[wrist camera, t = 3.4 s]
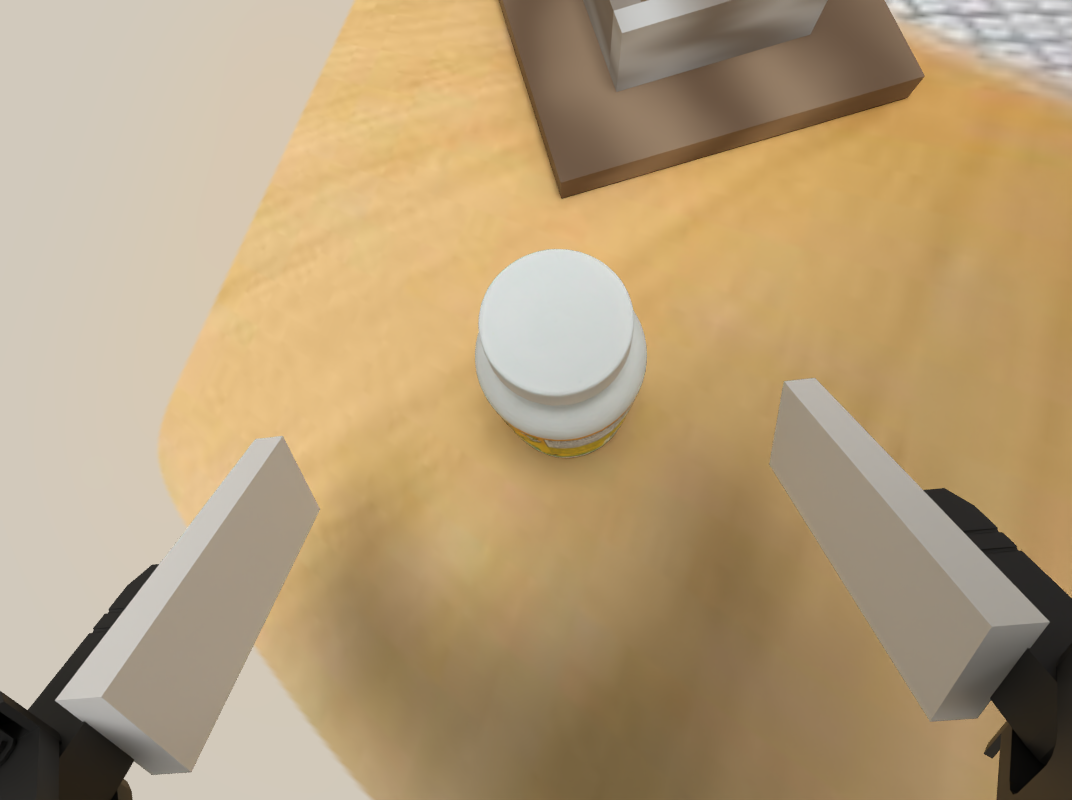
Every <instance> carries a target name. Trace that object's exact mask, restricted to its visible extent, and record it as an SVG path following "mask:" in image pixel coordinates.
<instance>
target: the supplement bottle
mask: <svg viewBox="0 0 1072 800" xmlns="http://www.w3.org/2000/svg"><path fill="white" fill-rule="evenodd" d="M646 363H647V347H646V341H645V336H644V332H643V329H642V326H641V324H640V321H639V319H638V317H637V316H636V314H635V312H634V311H633V306H632V303H631V300H630V297H629V294H628V292H627V290H626V288H625V286H624V284H623V283H622V281H621V280H620V278H619V277H618V276H617V275H616V274H615V273H614V272H613V271H612V270H611V269H610V268H609V267H608V266H607V265H605V264H604V263H602V262H601V261H599V260H597V259H596V258H594V257H592V256H590V255H587V254H584V253H581V252H578V251H573V250H567V249H548V250H543V251H538V252H535V253H532V254H529V255H526V256H524V257H522V258H520V259H518V260H516V261H515V262H513V263H512V264H510V265H509V266H508V267H506V268H505V269H504V270H503V271H502V272H501V273H500V274H499V275H498V276H497V277H496V278H495V279H494V280H493V282H492V283H491V285H490V286H489V288H488V290H487V292H486V294H485V296H484V299H483V301H482V303H481V308H480V313H479V333H478V337H477V341H476V349H475V364H476V372H477V376H478V380H479V383H480V386H481V388H482V390H483V392H484V394H485V396H486V398H487V400H488V401H489V403H490V404H491V406H492V407H493V408H494V409H495V411H496V412H497V413H498V414H499V415H500V416H501V417H502V419H503V420H504V421H505V422H506V423H507V424H508V425H509V426H510V427H511V428H512V429H513V430H514V432H515V433H516V434H517V435H518V436H519V437H520V438H521V439H522V440H523V441H525V442H526V443H527V444H529V445H530V446H532V447H533V448H535V449H536V450H538V451H540V452H542V453H544V454H547V455H550V456H554V457H560V458H571V457H578V456H582V455H586V454H588V453H591V452H593V451H595V450H597V449H598V448H600V447H602V446H603V445H604V444H605V443H607V442H608V441H609V440H610V439H611V438H612V437H613V436H614V435H615V433H616V432H617V430H618V429H619V428H620V426H621V424H622V422H623V421H624V419H625V417H626V415H627V413H628V411H629V409H630V407H631V405H632V404H633V402H634V400H635V398H636V396H637V394H638V392H639V389H640V387H641V385H642V382H643V378H644V375H645V371H646Z"/></svg>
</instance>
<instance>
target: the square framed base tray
mask: <svg viewBox="0 0 1072 800" xmlns="http://www.w3.org/2000/svg"><path fill="white" fill-rule="evenodd" d="M499 2H500V5H501V9H502V12H503V15H504V18H505V21H506V24H507V28H508V31H509V34H510V37H511V40H512V43H513V47H514V50H515V53H516V56H517V59H518V62H519V66H520V69H521V72H522V75H523V78H524V81H525V84H526V88H527V91H528V94H529V97H530V100H531V103H532V107H533V110H534V113H535V116H536V119H537V122H538V126H539V129H540V132H541V135H542V138H543V141H544V145H545V148H546V151H547V154H548V157H549V160H550V164H551V167H552V170H553V173H554V176H555V179H556V182H557V186H558V189H559V192H560V195H561V198H565V197H568V196H571V195H575V194H578V193H582V192H585V191H589V190H592V189H595V188H599V187H602V186H606V185H609V184H613V183H616V182H619V181H623V180H626V179H630V178H633V177H637V176H640V175H643V174H647V173H650V172H654V171H657V170H661V169H664V168H667V167H671V166H674V165H678V164H681V163H685V162H688V161H691V160H695V159H698V158H702V157H705V156H709V155H712V154H715V153H719V152H722V151H726V150H729V149H733V148H736V147H739V146H743V145H746V144H750V143H753V142H757V141H760V140H763V139H767V138H770V137H774V136H777V135H781V134H784V133H787V132H791V131H794V130H798V129H801V128H805V127H808V126H811V125H815V124H818V123H822V122H825V121H828V120H832V119H835V118H839V117H842V116H846V115H849V114H852V113H856V112H859V111H863V110H866V109H870V108H873V107H876V106H880V105H883V104H887V103H890V102H894V101H897V100H900V99H904V98H907V97H908V96H909V95H910V94H911V92H912V91H913V90H914V89H915V88H916V86H917V85H918V84H919V83H920V81H921V80H922V79H923V78H924V77H925V76H924V74H923V72H922V70H921V68H920V66H919V64H918V62H917V61H916V59H915V57H914V55H913V53H912V51H911V49H910V47H909V46H908V44H907V42H906V40H905V38H904V36H903V34H902V32H901V31H900V29H899V27H898V25H897V23H896V21H895V19H894V17H893V16H892V14H891V12H890V10H889V8H888V6H887V4H886V2H885V1H884V0H499Z"/></svg>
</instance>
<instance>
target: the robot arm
mask: <svg viewBox="0 0 1072 800" xmlns="http://www.w3.org/2000/svg"><path fill="white" fill-rule="evenodd" d="M769 465H770V467H771V468H772V470H773V471H774V473H775V475H776V476H777V478H778V479H779V481H780V483H781V484H782V486H783V487H784V489H785V491H786V492H787V494H788V495H789V497H790V499H791V500H792V502H793V503H794V505H795V507H796V508H797V510H798V511H799V513H800V515H801V516H802V518H803V519H804V521H805V523H806V524H807V526H808V527H809V529H810V531H811V532H812V534H813V535H814V537H815V539H816V540H817V542H818V543H819V545H820V547H821V548H822V550H823V551H824V553H825V555H826V556H827V558H828V559H829V561H830V563H831V564H832V566H833V567H834V569H835V571H836V572H837V574H838V575H839V577H840V579H841V580H842V582H843V583H844V585H845V587H846V588H847V590H848V591H849V593H850V595H851V596H852V598H853V599H854V601H855V603H856V604H857V606H858V607H859V609H860V611H861V612H862V614H863V615H864V617H865V619H866V620H867V622H868V623H869V625H870V626H871V628H872V630H873V631H874V633H875V634H876V636H877V638H878V639H879V641H880V642H881V644H882V646H883V647H884V649H885V650H886V652H887V654H888V655H889V657H890V658H891V660H892V662H893V663H894V665H895V666H896V668H897V670H898V671H899V673H900V674H901V676H902V678H903V679H904V681H905V682H906V684H907V686H908V687H909V689H910V690H911V692H912V694H913V695H914V697H915V698H916V700H917V702H918V703H919V705H920V706H921V708H922V710H923V711H924V713H925V714H926V716H927V718H928V719H929V721H930V722H931V721H945V720H960V719H974V718H978V717H979V715H980V714H981V713H982V711H983V710H984V709H985V707H986V706H987V705H988V703H989V702H990V701H991V700H992V702H993V703H994V704H995V706H996V707H997V708H998V710H999V711H1000V712H1001V714H1002V715H1003V716H1004V718H1005V719H1006V720H1007V721H1006V722H1005V724H1004V725H1003V726H1002V727H1001V728H1000V730H999V731H998V732H997V733H996V734H995V736H994V737H993V738H992V739H991V741H990V742H989V743H988V745H987V747H986V750H985V752H984V754H985V755H987V756H989V757H991V758H993V757H994V756H995V755H996V754H997V752H998V751H999V750H1000V758H999V773H998V787H997V800H1072V598H1071V597H1070V596H1069V595H1068V594H1066V593H1065V592H1064V591H1063V590H1062V589H1061V588H1060V587H1059V586H1058V585H1057V584H1056V583H1055V582H1054V581H1053V580H1052V579H1051V578H1050V577H1049V576H1048V575H1047V574H1045V573H1044V572H1043V571H1042V570H1041V569H1040V568H1039V567H1038V566H1037V565H1036V564H1035V563H1034V562H1033V561H1032V560H1031V559H1030V558H1029V557H1028V556H1027V555H1026V554H1025V553H1023V552H1022V551H1018V550H1017V546H1016V545H1015V544H1014V543H1013V542H1012V541H1011V540H1010V539H1009V538H1008V537H1007V536H1006V535H1005V534H1004V533H1002V532H998V530H997V527H996V526H995V525H994V524H993V523H992V522H991V521H990V520H989V519H988V518H987V517H986V516H985V515H984V514H983V513H982V512H980V511H979V510H978V509H977V508H976V507H975V506H974V505H972V504H970V503H969V502H967V501H965V500H964V499H962V498H960V497H958V496H957V495H955V494H953V493H952V492H950V491H948V490H946V489H945V488H942V489H931V490H922V489H921V488H920V487H919V485H918V484H917V483H916V482H915V481H914V480H913V479H912V478H911V477H910V476H909V475H908V474H907V473H906V472H905V471H904V470H903V469H902V468H901V467H900V466H899V465H898V464H897V463H896V462H895V461H894V460H893V458H892V457H891V456H890V455H889V454H888V453H887V452H886V451H885V450H884V449H883V448H882V447H881V446H880V445H879V444H878V443H877V442H876V441H875V440H874V439H873V438H872V437H871V436H870V435H869V434H868V432H867V431H866V430H865V429H864V428H863V427H862V426H861V425H860V424H859V423H858V422H857V421H856V420H855V419H854V418H853V417H852V416H851V415H850V414H849V413H848V412H847V411H846V410H845V409H844V408H843V407H842V405H841V404H840V403H839V402H838V401H837V400H836V399H835V398H834V397H833V396H832V395H831V394H830V393H829V392H828V391H827V390H826V389H825V388H824V387H823V386H822V385H821V384H820V383H819V382H818V381H817V380H816V378H810V379H801V380H792V381H784V383H783V389H782V395H781V400H780V406H779V412H778V417H777V423H776V429H775V434H774V440H773V446H772V451H771V457H770V463H769ZM319 510H320V508H319V506H318V504H317V502H316V500H315V498H314V496H313V494H312V492H311V490H310V489H309V487H308V485H307V483H306V481H305V479H304V477H303V475H302V473H301V471H300V469H299V467H298V465H297V463H296V461H295V459H294V457H293V455H292V453H291V451H290V449H289V447H288V445H287V443H286V441H285V439H284V437H283V436H279V437H270V438H260V439H255V440H254V442H253V443H252V444H251V445H250V447H249V448H248V449H247V451H246V452H245V453H244V455H243V456H242V457H241V458H240V460H239V461H238V462H237V464H236V465H235V466H234V468H233V469H232V470H231V471H230V473H229V474H228V475H227V477H226V478H225V479H224V481H223V482H222V483H221V485H220V486H219V487H218V488H217V490H216V491H215V492H214V494H213V495H212V496H211V498H210V499H209V500H208V501H207V503H206V504H205V505H204V507H203V508H202V509H201V511H200V512H199V513H198V515H197V516H196V517H195V518H194V520H193V521H192V522H191V524H190V525H189V526H188V528H187V529H186V530H185V531H184V533H183V534H182V535H181V537H180V538H179V539H178V541H177V542H176V543H175V544H174V546H173V547H172V548H171V550H170V551H169V552H168V554H167V555H166V556H165V558H164V559H163V560H162V562H161V563H160V564H156V565H151V566H150V567H149V568H148V569H147V570H145V571H144V572H143V573H142V574H141V575H140V576H138V577H137V578H136V579H135V580H133V581H132V582H131V583H130V584H129V585H128V586H127V587H126V588H125V589H124V591H123V592H122V593H121V594H120V595H119V597H118V598H117V599H116V600H115V602H114V603H113V604H112V605H111V607H110V608H109V612H108V614H104V615H103V617H102V618H101V619H100V621H99V622H98V623H97V624H96V626H95V627H94V628H93V629H94V631H93V633H89V634H88V636H87V637H86V638H85V639H84V641H83V642H82V643H81V644H80V646H79V647H78V648H77V649H76V651H75V652H74V653H73V654H72V656H71V657H70V658H69V659H68V661H67V662H66V663H65V664H64V666H63V667H62V668H61V670H60V671H59V672H58V673H57V674H56V676H55V677H54V678H53V679H52V681H51V682H50V683H49V684H48V686H47V687H46V688H45V689H44V691H43V692H42V693H41V694H40V696H39V697H38V698H37V699H36V701H35V702H34V703H33V704H32V706H31V707H30V708H29V709H28V710H26V709H25V708H23V707H22V706H21V705H19V704H18V703H16V702H15V701H14V700H12V699H11V698H9V697H8V696H7V695H5V694H4V693H2V692H1V691H0V800H132V791H131V789H130V787H129V784H128V782H127V781H126V780H124V777H125V775H126V774H127V772H128V770H129V768H130V767H131V765H132V763H133V762H134V761H135V762H136V763H137V764H139V765H140V766H141V767H143V768H144V769H145V770H146V771H148V772H149V773H150V774H151V775H158V774H170V773H171V774H172V773H187V772H192V769H193V767H194V766H195V764H196V761H197V759H198V757H199V755H200V753H201V751H202V749H203V747H204V745H205V743H206V741H207V739H208V737H209V735H210V733H211V731H212V729H213V727H214V725H215V722H216V720H217V719H218V716H219V715H220V713H221V710H222V708H223V706H224V704H225V702H226V700H227V698H228V696H229V694H230V692H231V690H232V688H233V686H234V684H235V682H236V680H237V678H238V676H239V674H240V672H241V670H242V668H243V665H244V663H245V662H246V659H247V657H248V655H249V653H250V651H251V649H252V647H253V645H254V643H255V641H256V639H257V637H258V635H259V633H260V631H261V629H262V627H263V625H264V623H265V621H266V619H267V617H268V615H269V613H270V610H271V608H272V606H273V604H274V602H275V600H276V598H277V596H278V594H279V592H280V590H281V588H282V586H283V584H284V582H285V580H286V578H287V576H288V574H289V572H290V570H291V568H292V566H293V564H294V562H295V559H296V557H297V555H298V553H299V551H300V549H301V547H302V545H303V543H304V541H305V539H306V537H307V535H308V533H309V531H310V529H311V527H312V525H313V523H314V521H315V519H316V517H317V515H318V513H319Z"/></svg>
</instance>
